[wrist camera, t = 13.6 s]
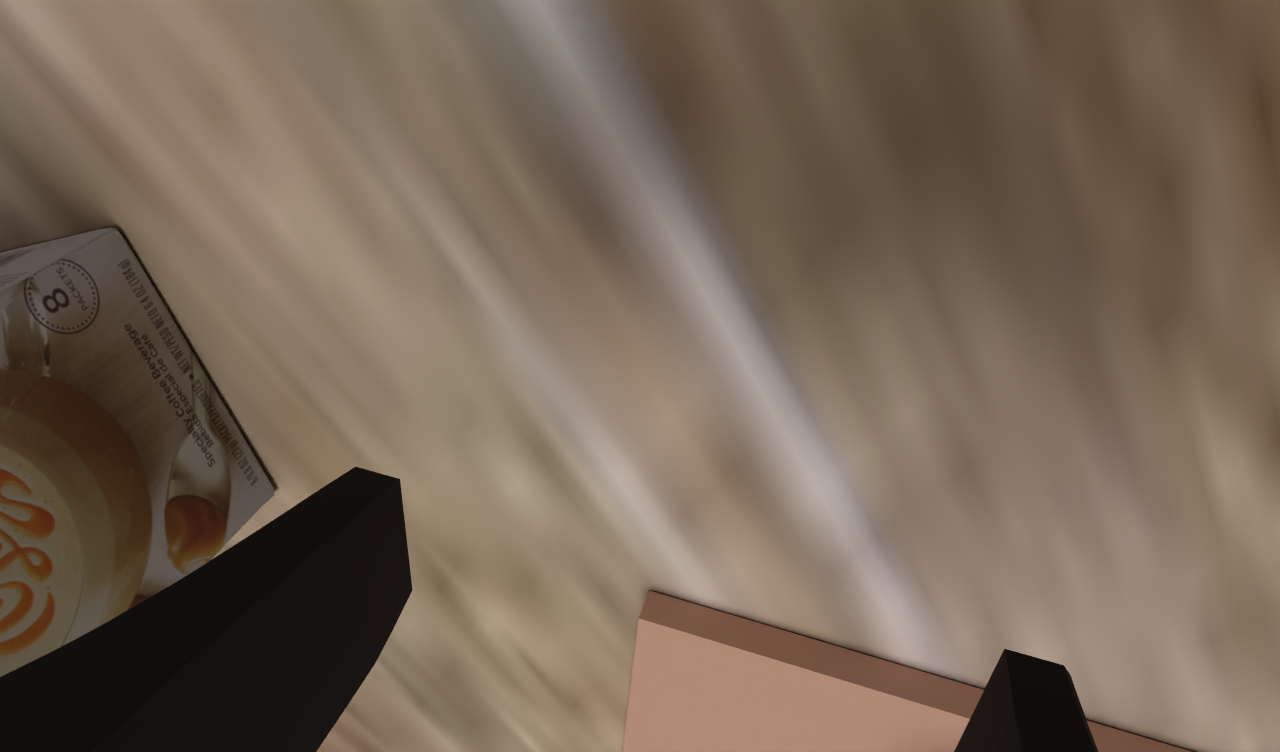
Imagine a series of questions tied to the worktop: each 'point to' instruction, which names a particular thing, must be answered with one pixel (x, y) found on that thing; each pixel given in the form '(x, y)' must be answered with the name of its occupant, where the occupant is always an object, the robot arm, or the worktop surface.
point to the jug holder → (790, 693)
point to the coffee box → (103, 446)
